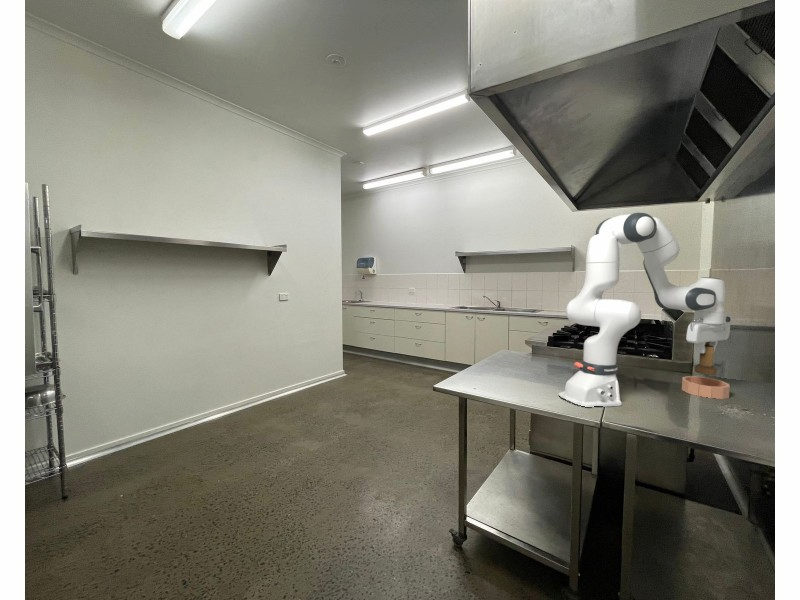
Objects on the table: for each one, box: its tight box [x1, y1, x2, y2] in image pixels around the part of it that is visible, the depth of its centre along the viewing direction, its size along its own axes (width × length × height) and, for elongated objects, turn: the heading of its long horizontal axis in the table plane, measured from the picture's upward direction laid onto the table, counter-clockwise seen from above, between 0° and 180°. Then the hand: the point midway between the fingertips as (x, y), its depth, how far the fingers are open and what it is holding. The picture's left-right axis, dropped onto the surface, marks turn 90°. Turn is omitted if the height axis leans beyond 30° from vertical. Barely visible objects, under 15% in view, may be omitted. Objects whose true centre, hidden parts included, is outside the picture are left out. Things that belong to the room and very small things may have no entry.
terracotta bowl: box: [681, 375, 731, 400], centre depth 134 cm, size 14×14×4 cm
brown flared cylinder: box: [694, 342, 718, 376], centre depth 133 cm, size 7×6×18 cm
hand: (706, 352), depth 133 cm, fingers closed on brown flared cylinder, 4 cm apart
